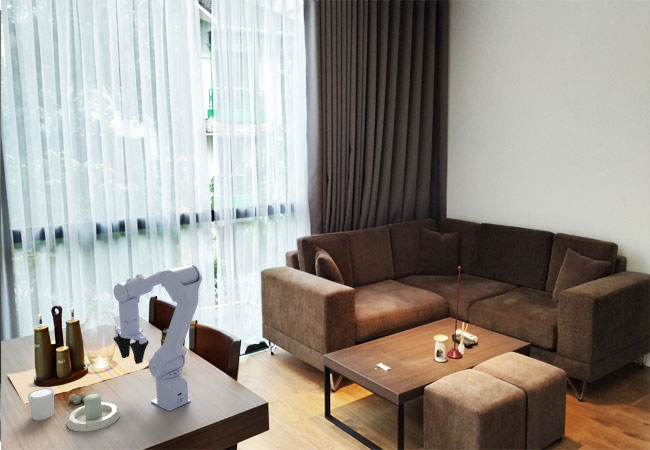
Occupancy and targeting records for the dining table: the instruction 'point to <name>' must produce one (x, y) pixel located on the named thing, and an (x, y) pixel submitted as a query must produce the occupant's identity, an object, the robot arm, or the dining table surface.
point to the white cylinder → (41, 403)
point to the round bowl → (82, 425)
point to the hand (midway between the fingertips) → (132, 360)
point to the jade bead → (93, 407)
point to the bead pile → (77, 398)
